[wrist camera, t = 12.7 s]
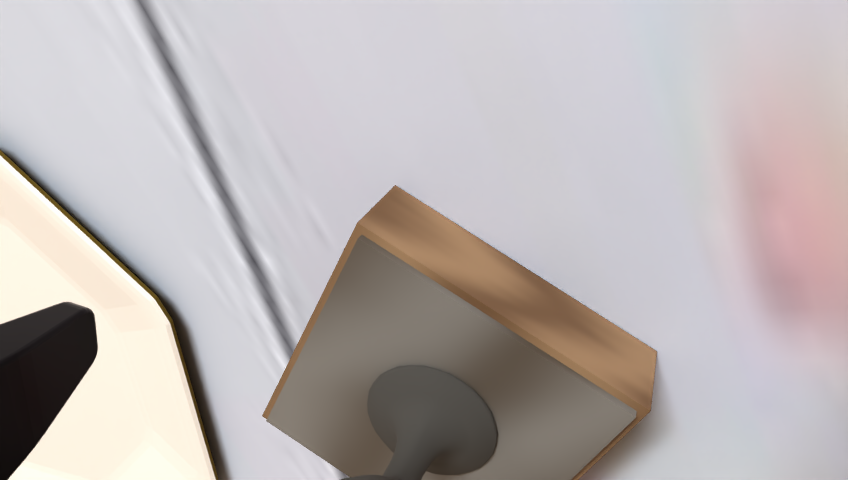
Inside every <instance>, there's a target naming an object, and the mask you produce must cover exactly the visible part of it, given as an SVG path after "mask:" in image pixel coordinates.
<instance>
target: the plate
mask: <svg viewBox="0 0 848 480" xmlns="http://www.w3.org/2000/svg"><path fill="white" fill-rule="evenodd" d="M62 302H72V303H75V304H78V305H81V306H84V307H87V308H89V309H91V310H92V311H93V313H94V315H95V323H96V332H97V342H98V351H97V355H96V358H95V360H94V362H93V364H92V366H91V367H90V368H89V370H88V371H87V373H86V374H85V376H84V377H83V379H82V380H81V382H80V383H79V385H78V386H77V387H76V389H75V390H74V392H73V393H72V395H71V396H70V398H69V399H68V401H67V402H66V404H65V405H64V406H63V408H62V409H61V411H60V412H59V414H58V415H57V417H56V418H55V420H54V421H53V423H52V424H51V425H50V427H49V428H48V430H47V431H46V433H45V434H44V435H43V437H42V438H41V440H40V441H39V442H38V444H37V445H36V446H35V448H34V449H33V450H32V451H31V453H30V454H29V455H28V456H27V458H26V459H25V460H24V461H23V462H22V464H21V465H20V466H19V467H18V468H17V469H16V471H15V472H14V473H13V474H12V475H11V477H10V478H9V479H8V480H218V475H217V472H216V469H215V465H214V462H213V458H212V455H211V451H210V448H209V444H208V441H207V437H206V434H205V430H204V427H203V423H202V420H201V417H200V413H199V410H198V406H197V403H196V399H195V396H194V392H193V389H192V385H191V382H190V378H189V375H188V371H187V368H186V365H185V361H184V358H183V354H182V351H181V347H180V344H179V340H178V337H177V333H176V330H175V326H174V323H173V320H172V318H171V317H170V315H169V314H168V312H167V310H166V309H165V307H164V306H163V304H162V303H161V301H160V300H159V298H158V296H157V295H156V294H155V293H153V292H152V291H151V290H150V289H149V288H148V287H147V286H146V285H145V284H144V283H143V282H142V281H141V280H139V279H138V278H137V277H136V276H135V275H134V274H133V273H132V272H131V271H130V270H129V269H128V268H127V267H126V266H124V265H123V264H122V263H121V262H120V261H119V260H118V259H117V258H116V257H115V256H114V255H113V254H112V253H110V252H109V251H108V250H107V249H106V248H105V247H104V246H103V245H102V244H101V243H100V242H99V241H98V240H97V239H95V238H94V237H93V236H92V235H91V234H90V233H89V232H88V231H87V230H86V229H85V228H84V227H83V226H81V225H80V224H79V223H78V222H77V221H76V220H75V219H74V218H73V217H72V216H71V215H70V214H69V213H67V212H66V211H65V210H64V209H63V208H62V207H61V206H60V205H59V204H58V203H57V202H56V201H55V200H54V199H52V198H51V197H50V196H49V195H48V194H47V193H46V192H45V191H44V190H43V189H42V188H41V187H40V186H38V185H37V184H36V183H35V182H34V181H33V180H32V179H31V178H30V177H29V176H28V175H27V174H26V173H25V172H23V171H22V170H21V169H20V168H19V167H18V166H17V165H16V164H15V163H14V162H13V161H12V160H11V159H9V158H8V157H7V156H6V155H5V154H4V153H3V152H2V151H1V150H0V324H2V323H5V322H8V321H11V320H13V319H16V318H19V317H22V316H25V315H28V314H30V313H33V312H36V311H39V310H42V309H44V308H47V307H50V306H53V305H56V304H59V303H62Z"/></svg>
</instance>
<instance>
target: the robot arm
mask: <svg viewBox="0 0 848 480" xmlns="http://www.w3.org/2000/svg"><path fill="white" fill-rule="evenodd" d="M97 351H98V342H97V332H96V323H95V315H94V313H93V311H92V310H91V309H89V308H87V307H84V306H81V305H78V304H75V303H72V302H62V303H59V304H56V305H53V306H50V307H47V308H44V309H42V310H39V311H36V312H33V313H30V314H28V315H25V316H22V317H19V318H16V319H13V320H11V321H8V322H5V323H2V324H0V480H8V479H9V478H10V477H11V475H12V474H13V473H14V472H15V471H16V469H17V468H18V467H19V466H20V465H21V464H22V462H23V461H24V460H25V459H26V458H27V456H28V455H29V454H30V453H31V451H32V450H33V449H34V448H35V446H36V445H37V444H38V442H39V441H40V440H41V438H42V437H43V435H44V434H45V433H46V431H47V430H48V428H49V427H50V425H51V424H52V423H53V421H54V420H55V418H56V417H57V415H58V414H59V412H60V411H61V409H62V408H63V406H64V405H65V404H66V402H67V401H68V399H69V398H70V396H71V395H72V393H73V392H74V390H75V389H76V387H77V386H78V385H79V383H80V382H81V380H82V379H83V377H84V376H85V374H86V373H87V371H88V370H89V368H90V367H91V366H92V364H93V362H94V360H95V358H96V355H97Z"/></svg>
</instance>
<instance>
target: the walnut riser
mask: <svg viewBox="0 0 848 480" xmlns="http://www.w3.org/2000/svg"><path fill="white" fill-rule="evenodd" d="M656 356H657V351H655V350H654V349H652V348H651V347H649V346H648V345H646V344H644V343H643V342H641V341H640V340H638V339H637V338H635V337H633V336H632V335H630V334H629V333H627V332H626V331H624V330H622V329H621V328H619V327H618V326H616V325H615V324H613V323H611V322H610V321H608V320H607V319H605V318H603V317H602V316H600V315H599V314H597V313H596V312H594V311H592V310H591V309H589V308H588V307H586V306H585V305H583V304H581V303H580V302H578V301H577V300H575V299H574V298H572V297H570V296H569V295H567V294H566V293H564V292H563V291H561V290H559V289H558V288H556V287H555V286H553V285H552V284H550V283H548V282H547V281H545V280H544V279H542V278H541V277H539V276H537V275H536V274H534V273H533V272H531V271H530V270H528V269H526V268H525V267H523V266H522V265H520V264H518V263H517V262H515V261H514V260H512V259H511V258H509V257H507V256H506V255H504V254H503V253H501V252H500V251H498V250H496V249H495V248H493V247H492V246H490V245H489V244H487V243H485V242H484V241H482V240H481V239H479V238H478V237H476V236H474V235H473V234H471V233H470V232H468V231H467V230H465V229H463V228H462V227H460V226H459V225H457V224H456V223H454V222H452V221H451V220H449V219H448V218H446V217H444V216H443V215H441V214H440V213H438V212H437V211H435V210H433V209H432V208H430V207H429V206H427V205H426V204H424V203H422V202H421V201H419V200H418V199H416V198H415V197H413V196H411V195H410V194H408V193H407V192H405V191H404V190H402V189H400V188H399V187H397V186H396V185H395V186H394V187H393V188H392V189H391V190H390V191H389V192H388V193H387V194H386V195H385V196H384V197H383V198H382V199H381V200H380V201H379V202H378V203H377V204H376V205H375V206H374V207H373V208H372V209H371V210H370V211H369V212H368V213H367V214H366V215H365V216H364V217H363V218H362V219H361V220H360V221H359V222H358V223H357V225H356V227H355V229H354V231H353V233H352V235H351V237H350V239H349V241H348V243H347V245H346V247H345V249H344V251H343V253H342V255H341V257H340V259H339V261H338V263H337V265H336V267H335V269H334V271H333V273H332V275H331V277H330V279H329V281H328V283H327V285H326V287H325V290H324V292H323V294H322V296H321V298H320V300H319V302H318V304H317V306H316V308H315V310H314V312H313V314H312V316H311V318H310V320H309V322H308V324H307V326H306V328H305V330H304V332H303V334H302V336H301V338H300V340H299V342H298V344H297V346H296V348H295V350H294V352H293V354H292V357H291V359H290V361H289V363H288V365H287V367H286V369H285V371H284V373H283V375H282V377H281V379H280V381H279V383H278V385H277V387H276V389H275V391H274V393H273V395H272V397H271V399H270V401H269V403H268V405H267V407H266V409H265V411H264V413H263V415H262V416H263V417H264V418H266V419H267V420H266V421H267V422H269V423H270V424H272V425H273V426H275V427H276V428H278V429H279V430H281V431H282V432H284V433H285V434H286V435H288V436H289V437H291V438H292V439H294V440H295V441H297V442H298V443H300V444H301V445H303V446H304V447H306V448H307V449H309V450H310V451H312V452H313V453H315V454H316V455H318V456H319V457H321V458H322V459H324V460H325V461H327V462H328V463H330V464H331V465H333V466H334V467H336V468H337V469H339V470H340V471H342V472H343V473H345V474H346V475H348V476H349V477H355V476H361V475H381V476H383V474H384V472H385V470H386V468H387V467H388V465H389V463H390V461H391V459H392V457H393V454H394V453H393V452H392V451H391V450H390V449H389V448H388V447H387V446H386V444H385V443H384V442H383V441H382V440H381V438H380V437H379V436H378V435H377V433H376V432H375V430H374V428H373V426H372V424H371V421H370V418H369V415H368V407H367V401H368V394H369V390H370V388H371V386H372V384H373V383H374V382H375V380H376V379H377V378H378V377H379V375H381V374H383V373H385V372H386V371H388V370H390V369H393V368H395V367H398V366H407V365H421V366H428V367H432V368H435V369H439V370H442V371H444V372H447V373H450V374H452V375H453V376H455V377H457V378H458V379H460V380H461V381H463V382H464V383H466V384H467V385H468V386H470V387H471V388H472V389H474V391H475V392H476V393H477V394H478V395H479V396H480V397H481V398H482V400H483V401H484V402H485V404H486V405H487V406H488V408H489V409H490V411H491V413H492V415H493V418H494V421H495V424H496V428H497V433H498V436H497V444H496V448H495V451H494V454H493V455H492V456H491V458H490V459H489V460H488V461H487V462H486V463H485V464H484V465H483V466H482V467H481V468H478V469H476V470H473V471H471V472H467V473H463V474H459V475H439V474H433V473H430V472H427V471H426V472H425V474H424V475H423V477H422V479H421V480H578V479H579V478H580V477H582V476H583V475H584V474H585V473H586V472H587V471H588V470H589V469H590V468H591V467H592V466H593V465H594V464H595V463H596V462H597V461H598V460H599V459H601V458H602V457H603V456H604V455H605V454H606V453H607V452H608V451H609V450H610V449H611V448H612V447H613V446H614V445H615V444H616V443H617V442H618V441H619V440H621V439H622V438H623V437H624V436H625V435H626V434H627V433H628V432H629V431H630V430H631V429H632V428H633V427H634V426H635V425H636V424H637V423H638V422H640V421H641V420H642V419H643V418H644V417H645V416H646V415H647V414H648V413H649V412H650V411H651V403H652V393H653V384H654V374H655V365H656Z"/></svg>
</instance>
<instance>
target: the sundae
mask: <svg viewBox="0 0 848 480" xmlns="http://www.w3.org/2000/svg"><path fill="white" fill-rule="evenodd" d="M367 407H368V415H369V418H370V421H371V424H372V426H373V428H374V430H375V432H376V433H377V435H378V436H379V437H380V438H381V440H382V441H383V442H384V443H385V444H386V446H387V447H388V448H389V449H390V450H391V451H392V452H393V453H394V454H393V457H392V459H391V461H390V463H389V465H388V467H387V468H386V470H385V472H384V474H383V476H381V475H361V476H355V477H350V478H345V479H341V480H421V479H422V477H423V475H424V474H425V472H426V471H427V472H430V473H433V474H439V475H459V474H463V473H467V472H471V471H473V470H476V469H478V468H481V467H482V466H483V465H484V464H485V463H486V462H487V461H488V460H489V459H490V458H491V456H492V455H493V454H494V451H495V448H496V444H497V436H498V433H497V428H496V424H495V421H494V418H493V415H492V413H491V411H490V409H489V408H488V406H487V405H486V404H485V402H484V401H483V400H482V398H481V397H480V396H479V395H478V394H477V393H476V392H475V391H474V389H472V388H471V387H470V386H468V385H467V384H466V383H464V382H463V381H461V380H460V379H458V378H457V377H455V376H453V375H452V374H450V373H447V372H444V371H442V370H439V369H435V368H432V367H428V366H421V365H407V366H398V367H395V368H393V369H390V370H388V371H386V372H385V373H383V374H381V375H379V377H378V378H377V379H376V380H375V382H374V383H373V384H372V386H371V388H370V390H369V394H368V401H367Z"/></svg>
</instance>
